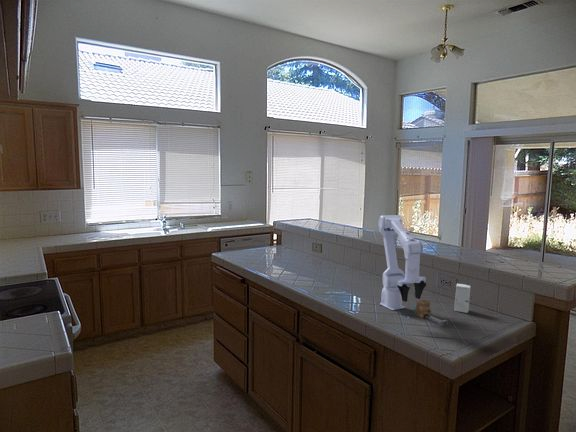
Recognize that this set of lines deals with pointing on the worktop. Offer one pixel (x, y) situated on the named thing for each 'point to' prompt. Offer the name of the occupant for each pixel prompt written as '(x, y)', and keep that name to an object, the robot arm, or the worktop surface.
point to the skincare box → (462, 298)
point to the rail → (434, 319)
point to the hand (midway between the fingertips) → (411, 299)
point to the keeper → (422, 308)
